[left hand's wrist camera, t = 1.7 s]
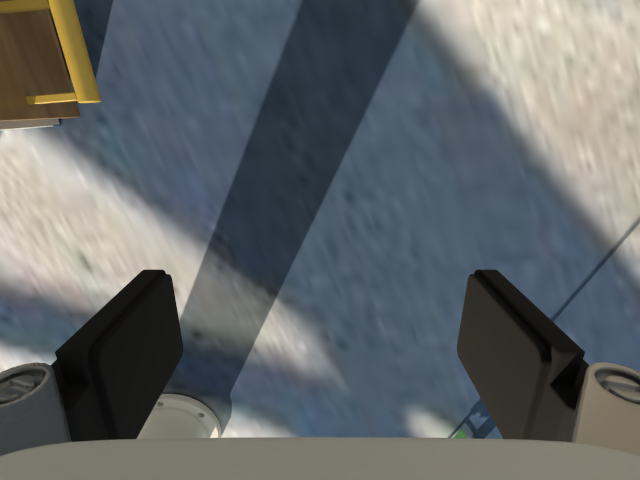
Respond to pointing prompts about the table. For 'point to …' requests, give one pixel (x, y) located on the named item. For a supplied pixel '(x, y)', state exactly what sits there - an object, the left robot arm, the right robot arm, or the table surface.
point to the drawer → (43, 61)
